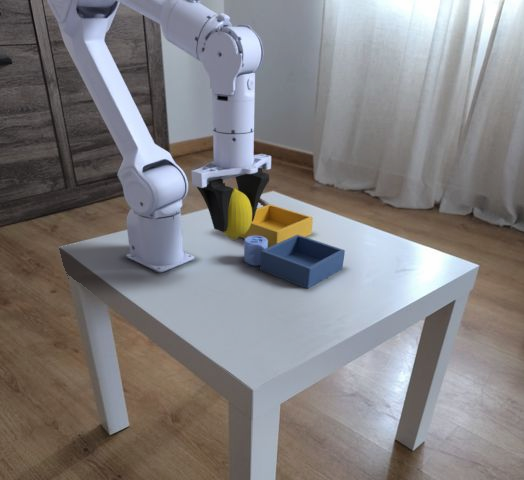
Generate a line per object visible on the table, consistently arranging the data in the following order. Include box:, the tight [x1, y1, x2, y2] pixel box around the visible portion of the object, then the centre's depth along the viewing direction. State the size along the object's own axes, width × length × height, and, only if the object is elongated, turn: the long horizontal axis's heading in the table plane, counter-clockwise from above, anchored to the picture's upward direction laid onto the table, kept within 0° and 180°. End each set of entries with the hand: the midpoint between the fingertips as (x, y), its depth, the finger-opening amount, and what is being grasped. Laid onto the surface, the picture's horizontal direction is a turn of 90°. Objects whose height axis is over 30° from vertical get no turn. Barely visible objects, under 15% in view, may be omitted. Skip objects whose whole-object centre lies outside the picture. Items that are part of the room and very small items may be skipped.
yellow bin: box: [238, 203, 314, 247], centre depth 97 cm, size 11×11×4 cm
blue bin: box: [260, 235, 346, 289], centre depth 84 cm, size 10×10×4 cm
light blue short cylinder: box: [243, 236, 268, 267], centre depth 86 cm, size 4×4×4 cm
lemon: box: [221, 187, 252, 241], centre depth 75 cm, size 6×6×8 cm
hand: (233, 224), depth 75 cm, fingers closed on lemon, 5 cm apart
